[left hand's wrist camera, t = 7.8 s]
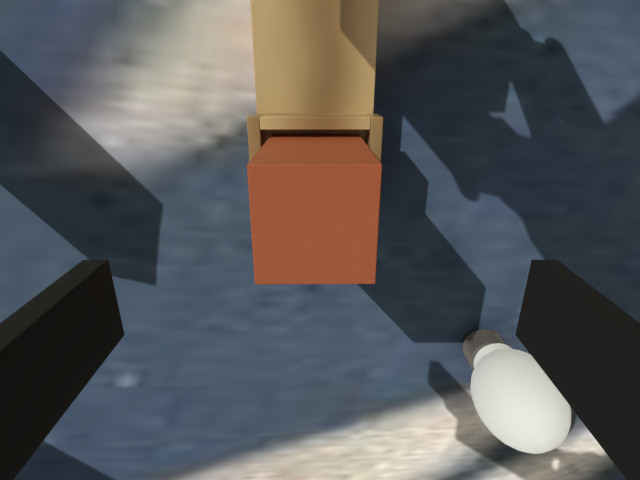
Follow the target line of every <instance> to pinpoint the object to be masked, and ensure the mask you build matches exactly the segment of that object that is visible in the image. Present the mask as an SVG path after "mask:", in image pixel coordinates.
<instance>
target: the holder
mask: <svg viewBox="0 0 640 480" xmlns="http://www.w3.org/2000/svg"><path fill="white" fill-rule="evenodd" d="M378 10H379V0H251V14H252V32H253V50H254V68H255V86H256V104H257V114H252V115H250V116H248V117H247V129H248V144H249V159H250V161H251V159H252V158H253V157H254V156H255V154H256V153H257V152H258V151H259V150H260V148H261V147H262V146H263V145H264V143H265V142H266V141H267V140H268V139H269V137H270V136H271V135H272V134H273V133H358V134H359V135H360V136H361V138H362V139H363V140H364V142H365V143H366V144H367V146H368V147H369V148H370V149H371V151H372V152H373V153H374V155H375V156H376V157H377V159H378V160H379V161H380V162H381V152H382V135H383V117H382V116H380V115H378V114H374V94H375V73H376V52H377V31H378Z"/></svg>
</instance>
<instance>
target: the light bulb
mask: <svg viewBox="0 0 640 480" xmlns="http://www.w3.org/2000/svg"><path fill="white" fill-rule="evenodd" d="M463 352H464V355H465V356H466V358H467V360H468V362H469V364H470V366H471V368H472V369H473V373H472V378H471V394H472V400H473V403H474V405H475V408H476V411H477V413H478V415H479V417H480V418H481V420H482V422H483V423H484V424H485V426H486V427H487V428H488V429H489V430H490V432H491V433H492V434H493V435H494V436H496V437H497V438H498V439H499V440H501V441H502V442H503V443H504V444H506V445H508V446H510V447H512V448H514V449H516V450H518V451H522V452H526V453H532V454H540V453H545V452H548V451H551V450H553V449H555V448H556V447H558V446H559V445H560V444H561V443H562V442H563V441H564V440H565V438H566V436H567V434H568V432H569V430H570V426H571V408H570V405H569V404H568V402H567V401H566V400H565V398H564V397H563V396H562V394H561V393H560V392H559V391H558V389H557V388H556V387H555V385H554V384H553V383H552V381H551V380H550V379H549V378H548V376H547V375H546V374H545V372H544V371H543V370H542V368H541V367H540V366H539V364H538V363H537V362H536V361H535V359H534V358H533V357H532V355H530V354H528V353H526V352H523V351H520V350H514V349H512V348H511V347H509V346H508V345H506V344H505V342H504V341H503V339H502V338H501V336H500V335H499V334H497V333H496V332H494V331H491V330H478V331H475V332H473V333H471V334H470V335H468V337H467V338H466V339H465V341H464V343H463Z"/></svg>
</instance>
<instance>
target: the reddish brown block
mask: <svg viewBox="0 0 640 480" xmlns="http://www.w3.org/2000/svg"><path fill="white" fill-rule="evenodd" d="M247 172H248V187H249V201H250V216H251V231H252V246H253V260H254V275H255V284H375V280H376V263H377V246H378V228H379V211H380V194H381V177H382V164H381V162H380V161H379V160H378V159H377V157H376V156H375V155H374V153H373V152H372V151H371V149H370V148H369V147H368V146H367V144H366V143H365V142H364V140H363V139H362V138H361V136H360V135H359V134H358V133H273V134H272V135H271V136H270V137H269V139H268V140H267V141H266V142H265V143H264V145H263V146H262V147H261V148H260V150H259V151H258V152H257V153H256V154H255V156H254V157H253V158H252V159H251V161H250V162H249V163H248V164H247Z"/></svg>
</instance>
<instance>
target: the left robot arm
mask: <svg viewBox="0 0 640 480" xmlns="http://www.w3.org/2000/svg"><path fill="white" fill-rule="evenodd" d="M123 336H124V331H123V326H122V321H121V317H120V312H119V308H118V303H117V298H116V294H115V289H114V284H113V280H112V275H111V271H110V266H109V261H108V260H83V261H81V262H80V263H79V264H77V265H76V266H75V267H74V268H72V269H71V270H70V271H68V272H67V273H66V274H64V275H63V276H62V277H60V278H59V279H58V280H56V281H55V282H54V283H53V284H51V285H50V286H49V287H47V288H46V289H45V290H43V291H42V292H41V293H39V294H38V295H37V296H35V297H34V298H33V299H32V300H30V301H29V302H28V303H26V304H25V305H24V306H22V307H21V308H20V309H18V310H17V311H16V312H15V313H13V314H12V315H11V316H9V317H8V318H7V319H5V320H4V321H3V322H1V323H0V480H13V479H14V478H15V477H16V475H17V474H18V473H19V471H20V470H21V469H22V468H23V466H24V465H25V464H26V462H27V461H28V460H29V458H30V457H31V456H32V454H33V453H34V452H35V451H36V449H37V448H38V447H39V445H40V444H41V443H42V441H43V440H44V439H45V438H46V436H47V435H48V434H49V432H50V431H51V430H52V428H53V427H54V426H55V424H56V423H57V422H58V421H59V419H60V418H61V417H62V415H63V414H64V413H65V411H66V410H67V409H68V408H69V406H70V405H71V404H72V402H73V401H74V400H75V398H76V397H77V396H78V394H79V393H80V392H81V391H82V389H83V388H84V387H85V385H86V384H87V383H88V381H89V380H90V379H91V378H92V376H93V375H94V374H95V372H96V371H97V370H98V368H99V367H100V366H101V364H102V363H103V362H104V361H105V359H106V358H107V357H108V355H109V354H110V353H111V351H112V350H113V349H114V348H115V346H116V345H117V344H118V342H119V341H120V340H121V338H122V337H123ZM516 336H517V337H518V338H519V340H520V341H521V342H522V344H523V345H524V346H525V348H526V349H527V350H528V351H529V353H530V354H531V355H532V357H533V358H534V359H535V361H536V362H537V363H538V364H539V366H540V367H541V368H542V370H543V371H544V372H545V374H546V375H547V376H548V378H549V379H550V380H551V381H552V383H553V384H554V385H555V387H556V388H557V389H558V391H559V392H560V393H561V394H562V396H563V397H564V398H565V400H566V401H567V402H568V404H569V405H570V406H571V408H572V409H573V410H574V411H575V413H576V414H577V415H578V417H579V418H580V419H581V421H582V422H583V423H584V424H585V426H586V427H587V428H588V430H589V431H590V432H591V434H592V435H593V436H594V438H595V439H596V440H597V441H598V443H599V444H600V445H601V447H602V448H603V449H604V451H605V452H606V453H607V454H608V456H609V457H610V458H611V460H612V461H613V462H614V464H615V465H616V466H617V468H618V469H619V470H620V471H621V473H622V474H623V475H624V477H625V478H626V479H627V480H640V323H639V322H637V321H636V320H635V319H633V318H632V317H631V316H629V315H628V314H627V313H625V312H624V311H623V310H622V309H620V308H619V307H618V306H616V305H615V304H614V303H612V302H611V301H610V300H608V299H607V298H606V297H605V296H603V295H602V294H601V293H599V292H598V291H597V290H595V289H594V288H593V287H591V286H590V285H589V284H587V283H586V282H585V281H584V280H582V279H581V278H580V277H578V276H577V275H576V274H574V273H573V272H572V271H570V270H569V269H568V268H566V267H565V266H564V265H563V264H561V263H560V262H559V261H557V260H532V261H531V266H530V271H529V275H528V280H527V284H526V289H525V294H524V298H523V303H522V308H521V312H520V317H519V321H518V326H517V331H516Z"/></svg>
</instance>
